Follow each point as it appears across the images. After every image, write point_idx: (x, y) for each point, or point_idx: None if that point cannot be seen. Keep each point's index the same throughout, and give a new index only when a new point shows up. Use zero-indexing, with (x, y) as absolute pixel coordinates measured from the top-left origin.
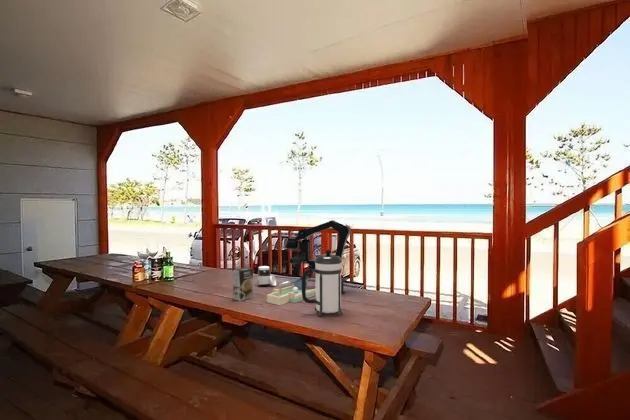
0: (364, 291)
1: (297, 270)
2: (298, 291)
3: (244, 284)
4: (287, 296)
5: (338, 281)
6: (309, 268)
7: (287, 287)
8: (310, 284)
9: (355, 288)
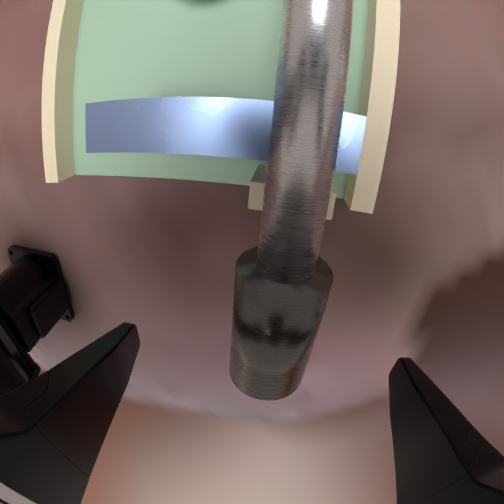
0: None
1: (429, 418)
2: (202, 30)
3: None
4: None
5: None
6: (22, 424)
7: (377, 11)
8: (318, 387)
9: None
